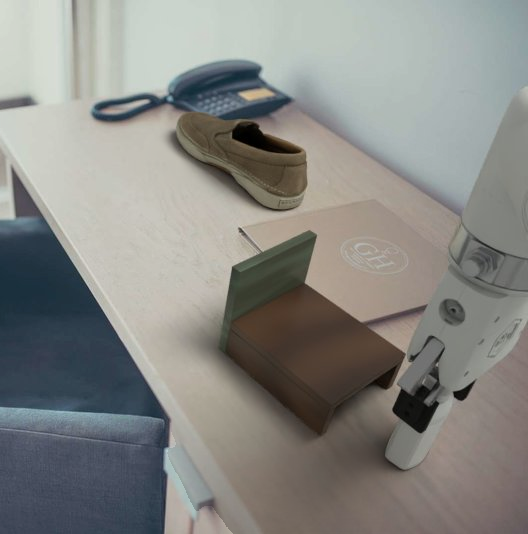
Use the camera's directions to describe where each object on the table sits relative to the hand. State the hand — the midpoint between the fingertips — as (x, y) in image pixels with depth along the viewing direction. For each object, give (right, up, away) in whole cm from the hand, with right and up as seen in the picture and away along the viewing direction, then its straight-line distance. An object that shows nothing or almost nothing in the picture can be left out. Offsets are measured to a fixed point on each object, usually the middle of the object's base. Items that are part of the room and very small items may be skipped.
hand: (429, 404), depth 59 cm
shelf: (-8, +1, +12) cm, 15 cm away
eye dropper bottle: (0, -6, +4) cm, 7 cm away
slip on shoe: (-10, +29, +48) cm, 57 cm away
